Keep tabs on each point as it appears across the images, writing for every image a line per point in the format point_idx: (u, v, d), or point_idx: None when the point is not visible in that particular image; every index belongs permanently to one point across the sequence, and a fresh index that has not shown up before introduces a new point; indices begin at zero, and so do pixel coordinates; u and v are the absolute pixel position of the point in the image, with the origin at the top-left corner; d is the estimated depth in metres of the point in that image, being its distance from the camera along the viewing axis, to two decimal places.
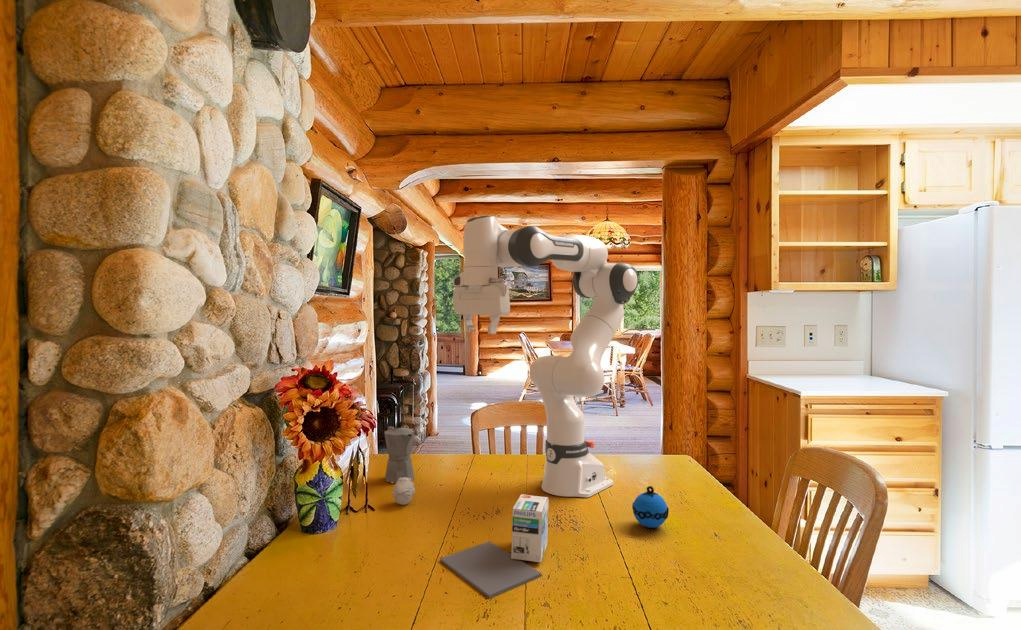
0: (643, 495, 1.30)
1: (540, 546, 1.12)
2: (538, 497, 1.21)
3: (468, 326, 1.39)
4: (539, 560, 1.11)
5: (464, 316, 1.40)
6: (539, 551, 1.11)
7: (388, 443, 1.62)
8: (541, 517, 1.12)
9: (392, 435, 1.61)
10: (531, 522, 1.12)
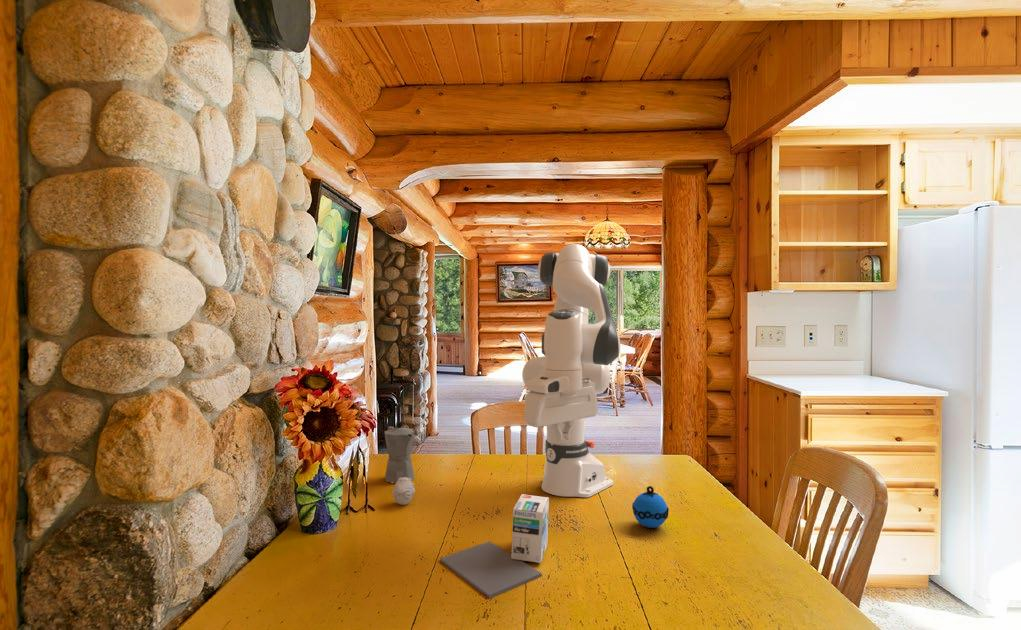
0: (643, 495, 1.30)
1: (540, 547, 1.11)
2: (539, 497, 1.21)
3: (564, 435, 1.22)
4: (539, 561, 1.11)
5: (559, 424, 1.20)
6: (539, 552, 1.11)
7: (388, 443, 1.62)
8: (542, 518, 1.12)
9: (393, 435, 1.61)
10: (531, 523, 1.12)
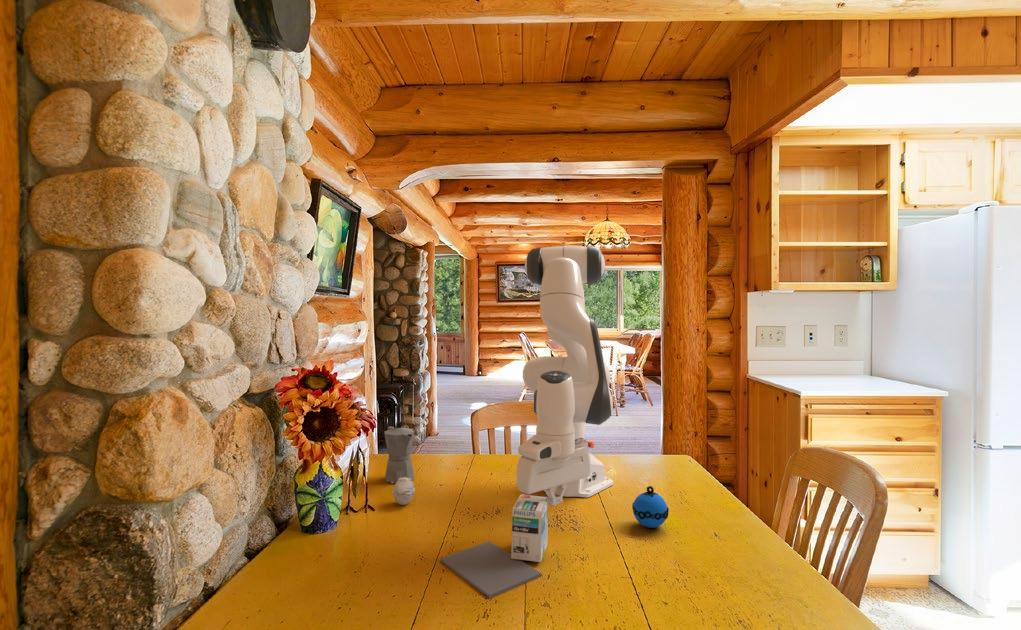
0: (643, 495, 1.30)
1: (540, 546, 1.12)
2: (538, 497, 1.21)
3: (556, 498, 1.21)
4: (539, 560, 1.11)
5: (552, 488, 1.19)
6: (539, 551, 1.11)
7: (388, 443, 1.62)
8: (541, 517, 1.12)
9: (392, 435, 1.61)
10: (531, 522, 1.12)
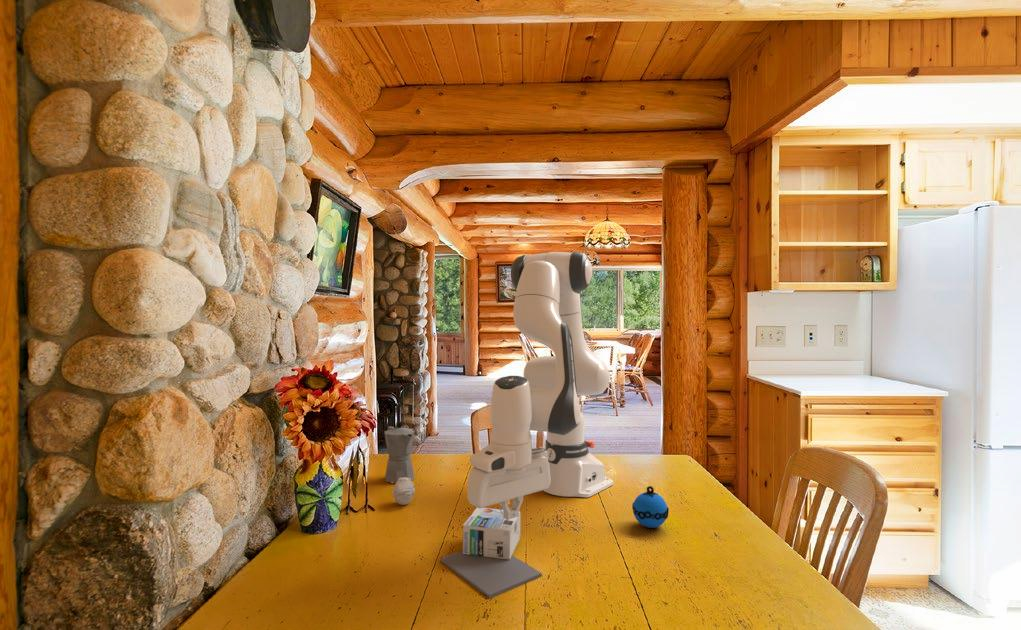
0: (643, 495, 1.30)
1: (495, 529, 1.13)
2: None
3: (512, 512, 1.13)
4: (508, 531, 1.12)
5: (507, 502, 1.11)
6: (499, 531, 1.13)
7: (388, 443, 1.62)
8: (468, 526, 1.15)
9: (393, 435, 1.61)
10: (473, 536, 1.14)
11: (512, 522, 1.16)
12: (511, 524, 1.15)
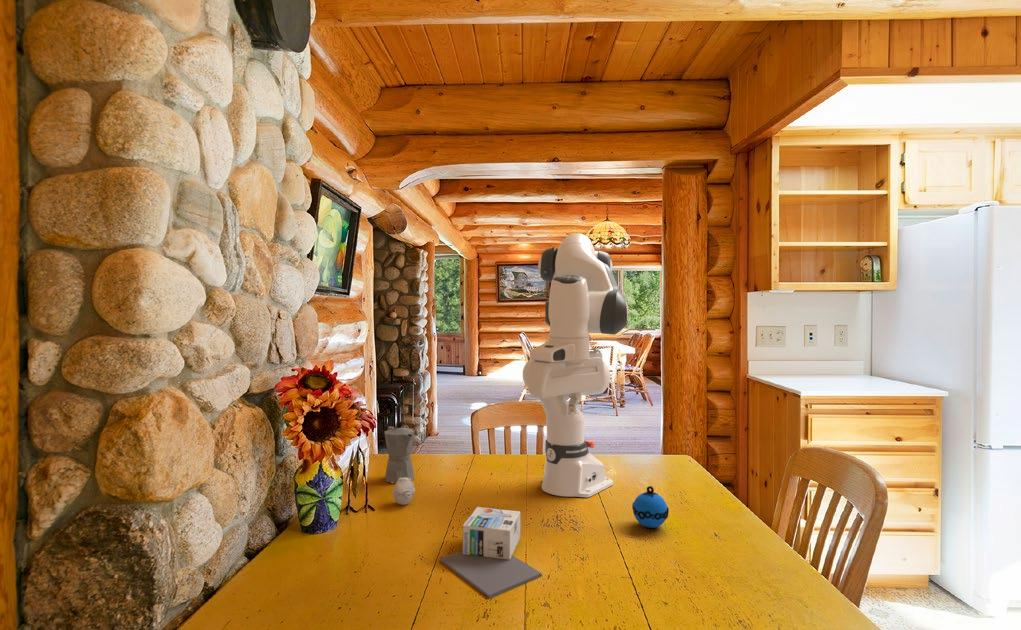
0: (643, 495, 1.30)
1: (495, 529, 1.13)
2: None
3: (570, 407, 1.14)
4: (508, 531, 1.12)
5: (565, 396, 1.13)
6: (499, 531, 1.13)
7: (388, 443, 1.62)
8: (468, 526, 1.15)
9: (393, 435, 1.61)
10: (473, 536, 1.14)
11: (512, 522, 1.16)
12: (511, 524, 1.15)
